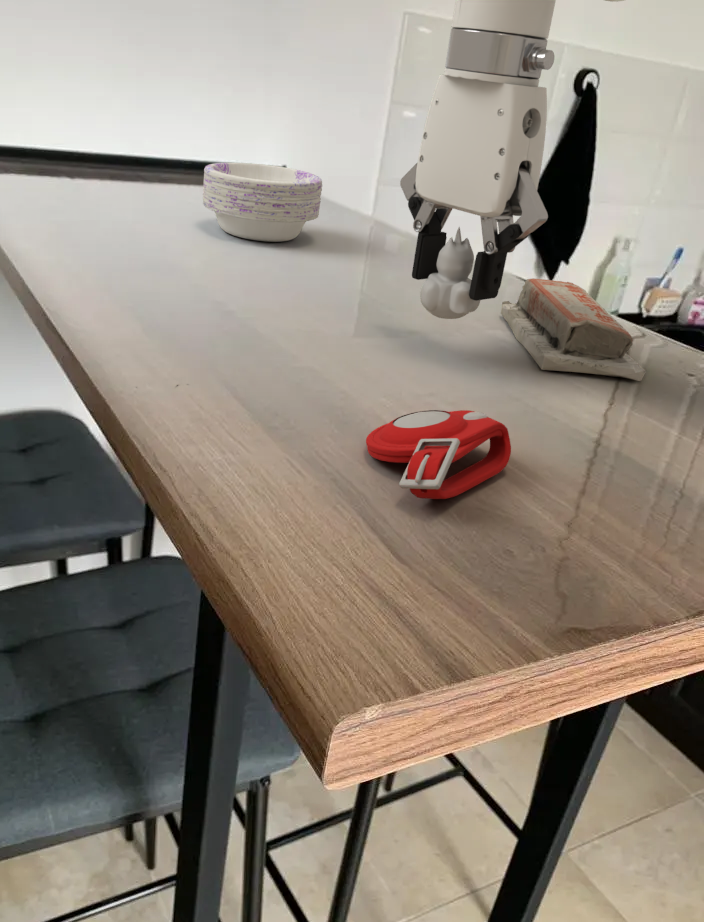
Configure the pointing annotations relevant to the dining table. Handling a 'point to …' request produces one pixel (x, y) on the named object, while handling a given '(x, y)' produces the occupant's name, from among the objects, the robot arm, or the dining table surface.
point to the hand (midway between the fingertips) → (453, 285)
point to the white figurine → (450, 281)
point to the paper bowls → (261, 199)
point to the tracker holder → (440, 449)
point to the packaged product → (570, 331)
